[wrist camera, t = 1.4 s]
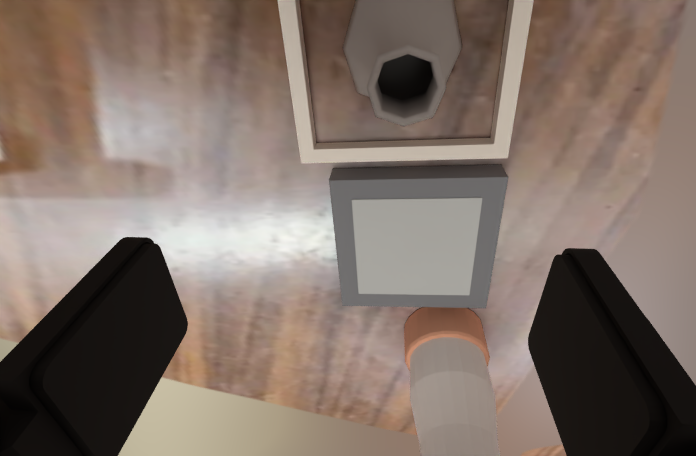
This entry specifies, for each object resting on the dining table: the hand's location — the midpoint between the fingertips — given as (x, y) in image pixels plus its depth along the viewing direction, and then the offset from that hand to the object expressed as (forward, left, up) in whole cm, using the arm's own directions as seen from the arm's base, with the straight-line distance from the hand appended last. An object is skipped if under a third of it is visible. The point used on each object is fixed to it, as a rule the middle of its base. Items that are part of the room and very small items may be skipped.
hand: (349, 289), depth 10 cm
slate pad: (+12, +3, -19) cm, 23 cm away
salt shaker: (+23, +6, -20) cm, 30 cm away
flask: (-2, +2, -20) cm, 20 cm away
